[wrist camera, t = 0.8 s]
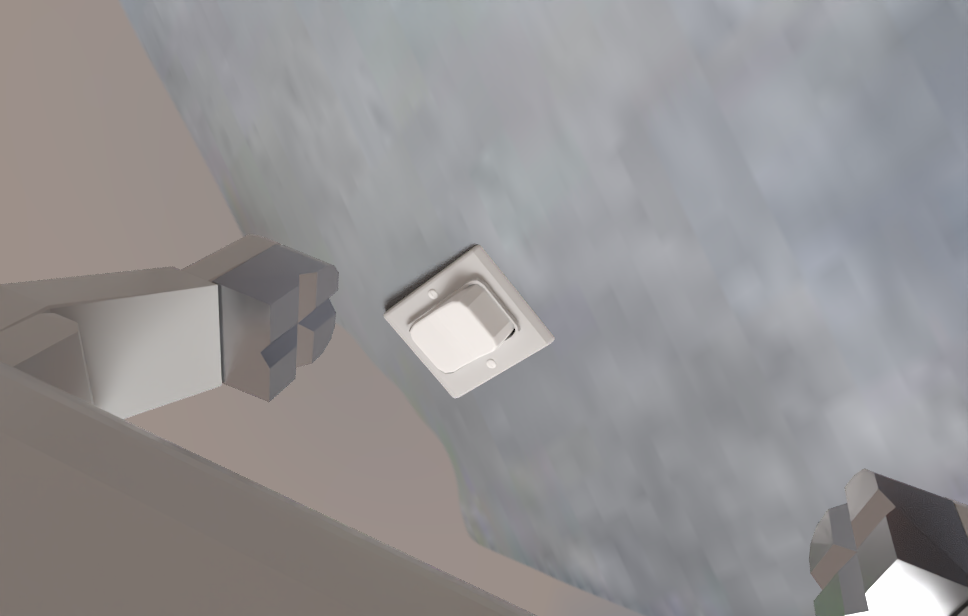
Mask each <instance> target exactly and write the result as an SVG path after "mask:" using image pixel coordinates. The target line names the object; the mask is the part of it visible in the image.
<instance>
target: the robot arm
mask: <svg viewBox="0 0 968 616" xmlns="http://www.w3.org/2000/svg"><path fill="white" fill-rule="evenodd" d="M338 278H339V272H338V271H337V269H336V267H335V266H334V265H332V264H330V263H327V262H325V261H322V260H320V259H317V258H315V257H312V256H310V255H307V254H305V253H303V252H300V251H298V250H295V249H293V248H290V247H288V246H285V245H281V244H280V243H278V242H275V241H273V240H270V239H267V238H265V237H262V236H259V235H253V234H249V235H247V236H245V237H243V238H241V239H239V240H237V241H235V242H233V243H231V244H229V245H227V246H226V247H224V248H222V249H220V250H218V251H216V252H214V253H212V254H210V255H208V256H206V257H204V258H203V259H201V260H199V261H197V262H195V263H193V264H191V265H189V266H187V267H185V268H183V269H181V270H180V269H178V268H175V267H163V268H153V269H144V270H134V271H125V272H115V273H105V274H95V275H86V276H76V277H66V278H56V279H47V280H37V281H28V282H18V283H8V284H0V616H537V615H534V614H532V613H530V612H528V611H526V610H524V609H522V608H520V607H518V606H516V605H514V604H511V603H509V602H507V601H505V600H503V599H501V598H499V597H497V596H494V595H493V594H490V593H488V592H486V591H484V590H482V589H480V588H477V587H476V586H473V585H471V584H469V583H467V582H465V581H463V580H461V579H459V578H456V577H455V576H453V575H450V574H448V573H446V572H444V571H442V570H440V569H438V568H436V567H433V566H432V565H429V564H427V563H425V562H423V561H421V560H419V559H417V558H415V557H413V556H410V555H408V554H406V553H404V552H402V551H400V550H398V549H396V548H394V547H391V546H389V545H387V544H385V543H383V542H381V541H379V540H377V539H375V538H372V537H370V536H368V535H366V534H364V533H362V532H360V531H358V530H355V529H353V528H351V527H349V526H347V525H345V524H343V523H340V522H339V521H337V520H334V519H332V518H330V517H328V516H326V515H324V514H322V513H320V512H317V511H315V510H313V509H311V508H309V507H307V506H305V505H303V504H301V503H299V502H296V501H294V500H292V499H290V498H288V497H286V496H284V495H281V494H279V493H277V492H275V491H273V490H271V489H269V488H267V487H265V486H263V485H260V484H258V483H256V482H254V481H252V480H250V479H248V478H246V477H243V476H241V475H239V474H237V473H235V472H233V471H231V470H229V469H227V468H225V467H222V466H220V465H218V464H216V463H214V462H212V461H210V460H208V459H205V458H203V457H201V456H199V455H197V454H195V453H193V452H191V451H188V450H186V449H184V448H182V447H180V446H178V445H176V444H174V443H172V442H170V441H168V440H165V439H164V438H161V437H159V436H157V435H155V434H153V433H151V432H149V431H147V430H145V429H143V428H140V427H138V426H136V425H134V424H132V423H130V422H128V421H126V420H124V419H125V418H128V417H131V416H134V415H137V414H140V413H143V412H146V411H149V410H151V409H154V408H157V407H160V406H163V405H166V404H169V403H172V402H175V401H178V400H181V399H184V398H186V397H190V396H193V395H196V394H199V393H202V392H204V391H207V390H210V389H213V388H216V387H219V386H221V385H222V383H224V384H226V385H228V386H231V387H233V388H236V389H238V390H241V391H243V392H246V393H248V394H251V395H253V396H255V397H258V398H260V399H263V400H265V401H268V402H270V401H271V400H272V399H273V398H274V397H275V396H276V395H278V394H279V393H280V392H281V391H282V390H283V389H284V388H285V387H287V386H288V385H289V384H290V383H291V382H292V381H293V380H294V379H295V375H296V367H299V366H303V365H308V364H312V363H313V362H314V361H315V360H316V359H317V358H318V357H319V356H320V355H321V354H322V353H323V351H324V350H325V348H326V346H327V345H328V343H329V341H330V340H331V337H332V334H333V330H334V327H335V319H336V312H335V310H334V308H333V306H332V304H331V302H330V300H329V298H330V297H331V296H332V295H333V294H334V293H335V292H337V291H338ZM845 493H846V499H847V503H846V504H843V505H840V506H836V507H833V508H830V509H828V510H827V511H826V513H825V514H824V516H823V517H822V519H821V520H820V522H819V523H818V524H817V526H816V529H815V532H814V535H813V538H812V541H811V544H810V553H809V563H810V573H811V575H812V576H813V578H814V579H815V580H816V582H817V583H818V585H819V586H820V587H821V589H822V591H821V592H820V594H819V595H818V596H817V597H816V599H815V600H814V608H815V616H968V505H966V504H963V503H960V502H957V501H954V500H952V499H949V498H946V497H941V496H938V495H936V494H933V493H930V492H927V491H925V490H922V489H919V488H916V487H914V486H911V485H908V484H905V483H903V482H900V481H897V480H894V479H892V478H889V477H886V476H883V475H881V474H878V473H875V472H872V471H870V470H867V469H863V470H861V471H860V472H858V473H857V474H855V475H854V476H853V477H852V479H851V480H850V481H849V482H848V484H847V485H846V486H845Z"/></svg>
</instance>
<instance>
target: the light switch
mask: <svg viewBox="0 0 968 616" xmlns="http://www.w3.org/2000/svg"><path fill="white" fill-rule="evenodd" d="M383 316H384V318H385V319H386V320H387V321H388V322H389V324H390V325H391V326H392V327H393V328H394V329H395V331H396V332H397V333H398V334H399V335H400V336H401V338H402V339H403V340H404V341H405V342H406V343H407V344H408V346H409V347H410V348H411V349H412V350H413V351H414V353H415V354H416V355H417V356H418V357H419V358H420V360H421V361H422V362H423V363H424V364H425V365H426V367H427V368H428V369H429V370H430V371H431V372H432V374H433V375H434V376H435V377H436V378H437V379H438V381H439V382H440V383H441V384H442V385H443V386H444V388H445V389H446V390H447V391H448V392H449V393H450V395H451V396H452V397H453V398H458V397H460V396H462V395H464V394H465V393H467V392H469V391H471V390H472V389H474V388H476V387H477V386H479V385H481V384H483V383H484V382H486V381H488V380H489V379H491V378H493V377H495V376H496V375H498V374H500V373H501V372H503V371H505V370H506V369H508V368H510V367H512V366H513V365H515V364H517V363H518V362H520V361H522V360H524V359H525V358H527V357H529V356H530V355H532V354H534V353H535V352H537V351H539V350H541V349H542V348H544V347H546V346H547V345H549V344H550V343H552V342H553V341H554V339H555V338H554V336H553V335H552V334H551V332H550V331H549V330H548V329H547V327H546V326H545V325H544V324H543V322H542V321H541V320H540V319H539V317H538V316H537V315H536V314H535V312H534V311H533V310H532V309H531V307H530V306H529V305H528V304H527V302H526V301H525V300H524V299H523V297H522V296H521V295H520V294H519V293H518V291H517V290H516V289H515V288H514V286H513V285H512V284H511V283H510V281H509V280H508V279H507V278H506V276H505V275H504V274H503V273H502V271H501V270H500V269H499V268H498V266H497V265H496V264H495V263H494V261H493V260H492V259H491V258H490V256H489V255H488V254H487V253H486V252H485V250H484V249H483V248H482V247H481V246H480V245H476V246H474V247H473V248H472V249H470V250H469V251H468V252H466V253H465V254H464V255H462V256H461V257H459V258H458V259H457V260H455V261H454V262H453V263H451V264H450V265H448V266H447V267H446V268H444V269H443V270H442V271H440V272H439V273H438V274H436V275H435V276H433V277H432V278H431V279H429V280H428V281H427V282H425V283H424V284H422V285H421V286H420V287H418V288H417V289H416V290H414V291H413V292H411V293H410V294H409V295H407V296H406V297H405V298H403V299H402V300H401V301H399V302H398V303H396V304H395V305H394V306H392V307H391V308H390V309H388V310H387V311H386V312H385V313H384V315H383ZM514 328H515V332H514V333H513V334H511V333H512V331H513V330H514ZM510 334H511V335H510Z"/></svg>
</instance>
